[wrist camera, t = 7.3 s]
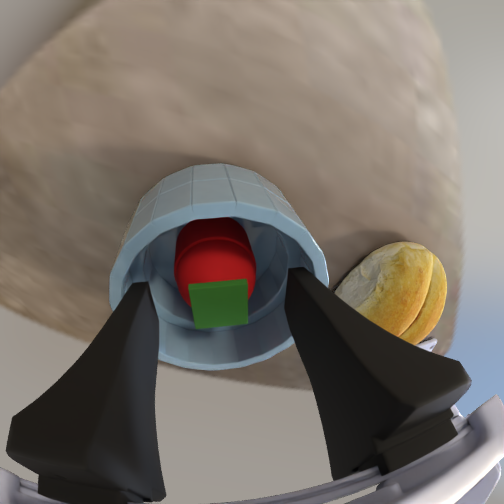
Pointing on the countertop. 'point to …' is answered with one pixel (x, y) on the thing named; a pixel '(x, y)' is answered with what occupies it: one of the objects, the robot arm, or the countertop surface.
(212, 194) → the bowl
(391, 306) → the bread roll
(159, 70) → the countertop surface
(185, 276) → the strawberry
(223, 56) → the countertop surface
